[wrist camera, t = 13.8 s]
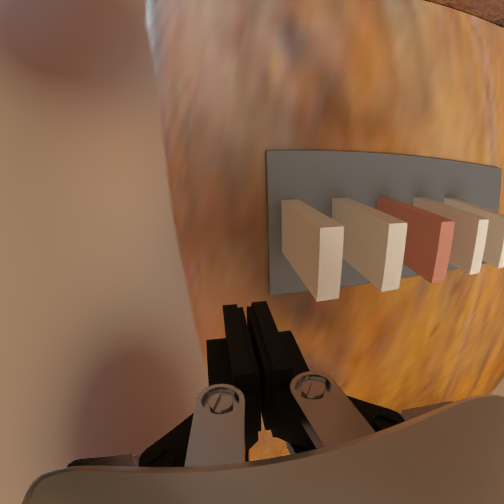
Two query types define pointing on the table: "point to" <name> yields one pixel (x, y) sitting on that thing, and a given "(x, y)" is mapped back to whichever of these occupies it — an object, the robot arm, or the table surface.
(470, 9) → the book
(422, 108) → the table surface
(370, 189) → the domino mat
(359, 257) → the domino
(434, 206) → the domino
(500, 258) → the domino
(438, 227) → the domino
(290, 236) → the domino
